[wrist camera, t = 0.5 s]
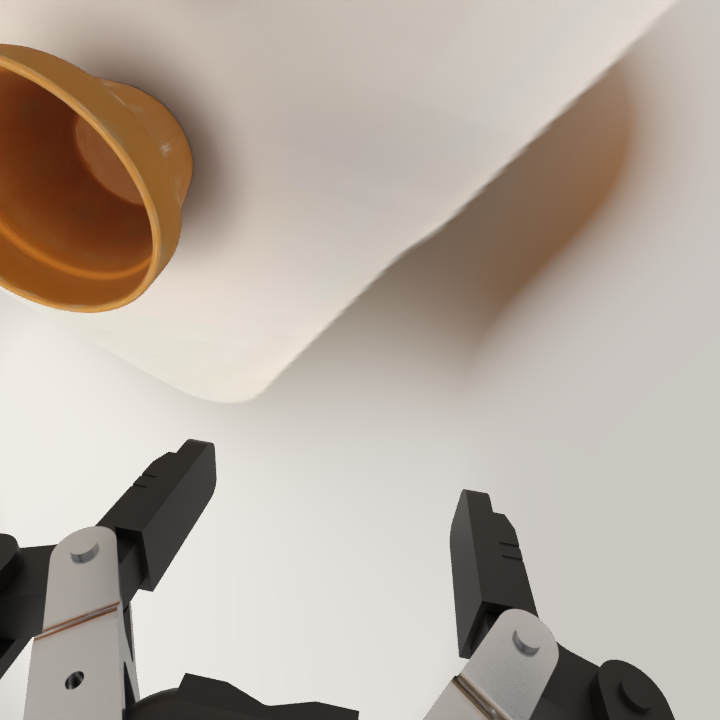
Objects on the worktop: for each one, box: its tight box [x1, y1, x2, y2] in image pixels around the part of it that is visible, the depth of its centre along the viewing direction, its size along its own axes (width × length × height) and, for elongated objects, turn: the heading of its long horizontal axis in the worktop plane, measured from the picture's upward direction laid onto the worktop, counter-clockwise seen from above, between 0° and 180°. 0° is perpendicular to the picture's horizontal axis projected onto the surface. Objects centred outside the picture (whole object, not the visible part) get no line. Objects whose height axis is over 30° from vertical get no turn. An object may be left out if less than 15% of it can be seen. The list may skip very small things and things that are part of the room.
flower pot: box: [0, 44, 193, 313], centre depth 27 cm, size 14×14×13 cm
